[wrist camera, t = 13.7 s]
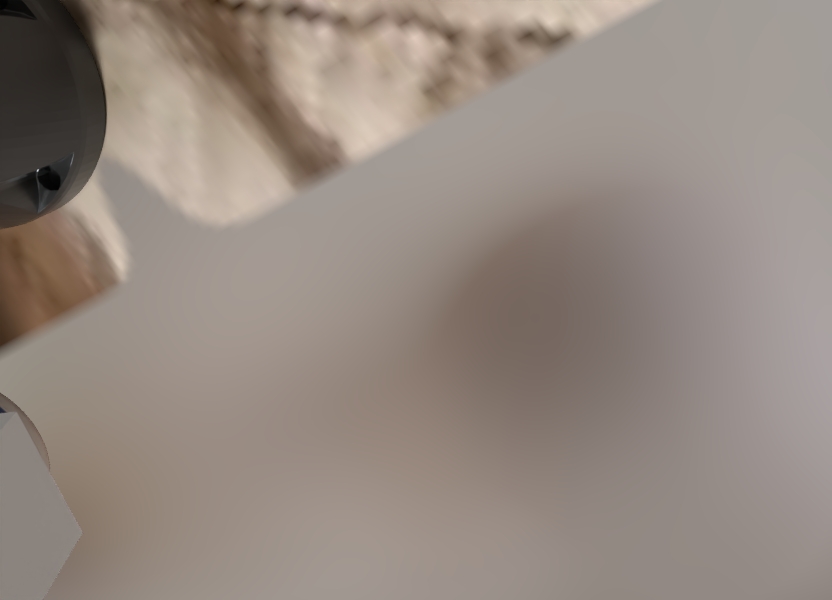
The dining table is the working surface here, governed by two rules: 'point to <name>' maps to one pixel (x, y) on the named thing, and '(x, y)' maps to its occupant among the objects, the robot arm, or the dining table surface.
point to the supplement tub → (26, 426)
